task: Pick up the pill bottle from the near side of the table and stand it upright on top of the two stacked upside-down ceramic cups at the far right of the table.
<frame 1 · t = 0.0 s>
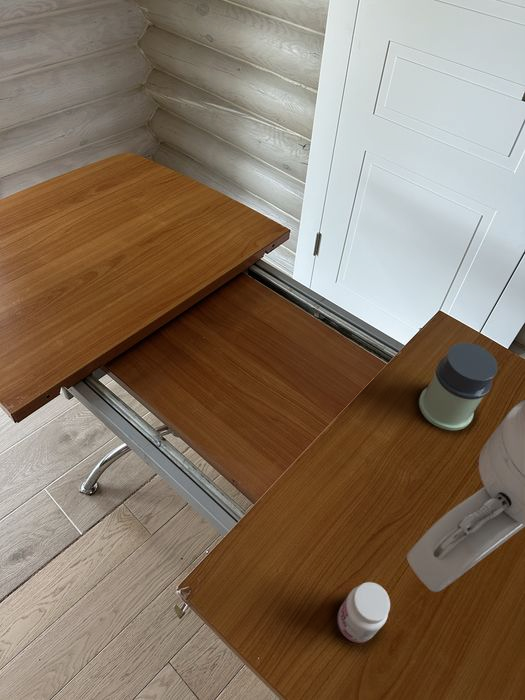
hand: (475, 540, 50), 20 cm above the table, tool pointing down, fingers open, 8 cm apart
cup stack: (445, 408, 85), on the table
pill bottle: (355, 622, 63), on the table
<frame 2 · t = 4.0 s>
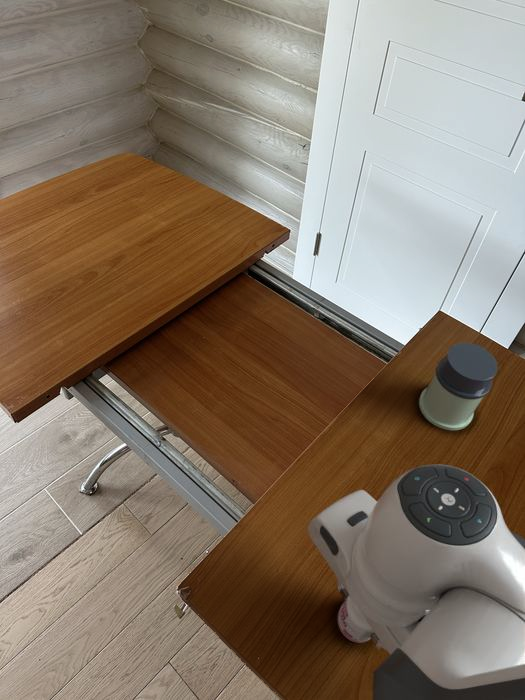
hand: (361, 614, 60), 3 cm above the table, tool pointing down, fingers closed on pill bottle, 5 cm apart
pill bottle: (356, 622, 63), on the table, touching gripper
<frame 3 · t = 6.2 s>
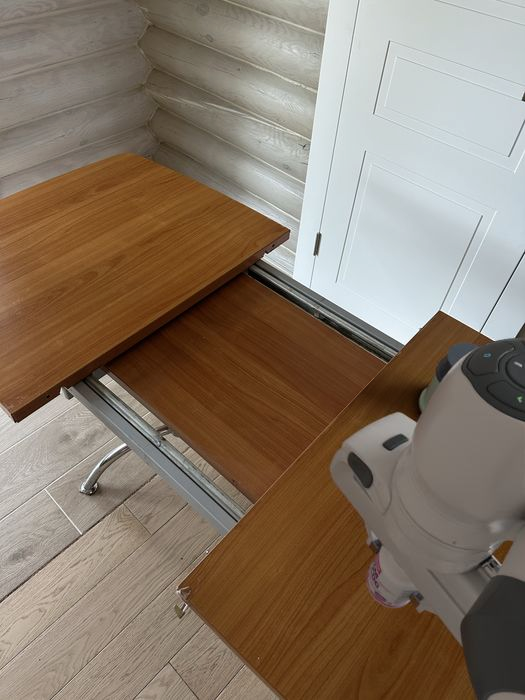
hand: (397, 572, 49), 18 cm above the table, tool pointing down, fingers closed on pill bottle, 5 cm apart
pill bottle: (388, 584, 52), point 14 cm above the table, touching gripper
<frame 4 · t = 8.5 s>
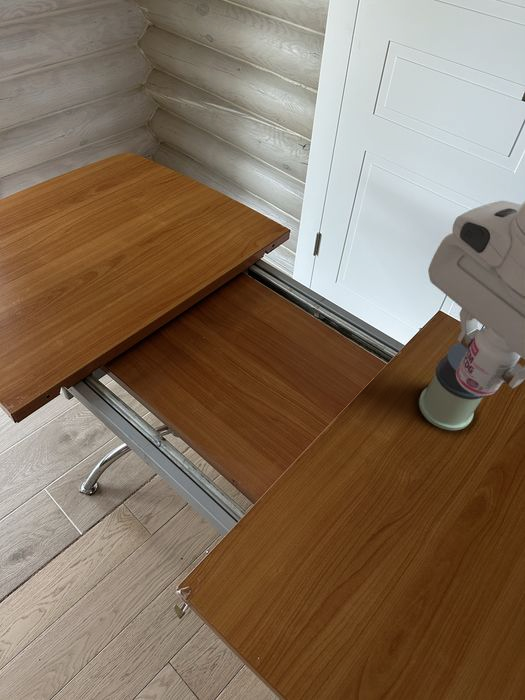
hand: (487, 361, 55), 28 cm above the table, tool pointing down, fingers closed on pill bottle, 5 cm apart
pill bottle: (475, 381, 57), point 24 cm above the table, touching gripper
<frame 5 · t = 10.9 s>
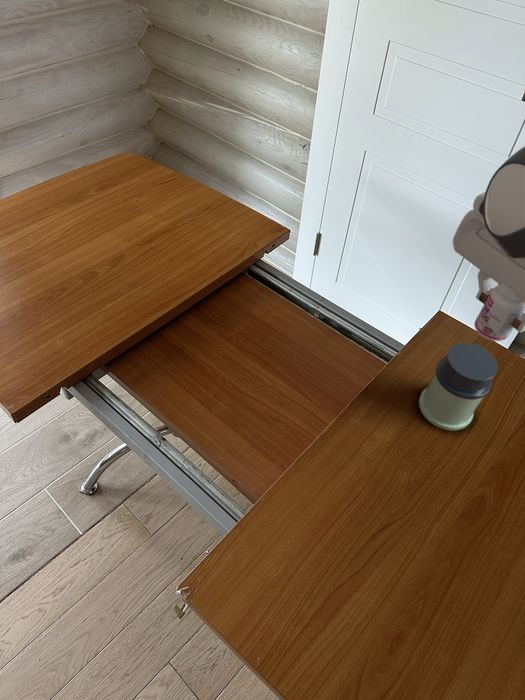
hand: (500, 313, 69), 22 cm above the table, tool pointing down, fingers closed on pill bottle, 5 cm apart
pill bottle: (490, 330, 72), point 19 cm above the table, touching gripper
when the fingers open (15 cm above the table, at t = 13.0 s): pill bottle stays where it is, resting on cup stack.
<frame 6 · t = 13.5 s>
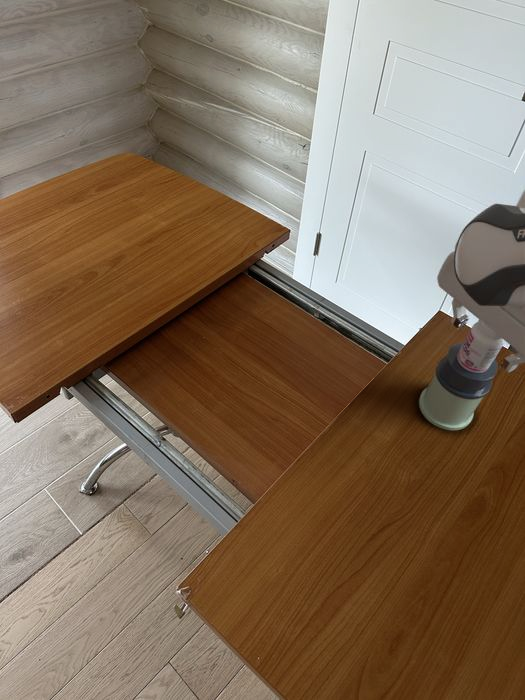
hand: (481, 345, 74), 15 cm above the table, tool pointing down, fingers open, 8 cm apart
pill bottle: (471, 362, 77), point 12 cm above the table, touching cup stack
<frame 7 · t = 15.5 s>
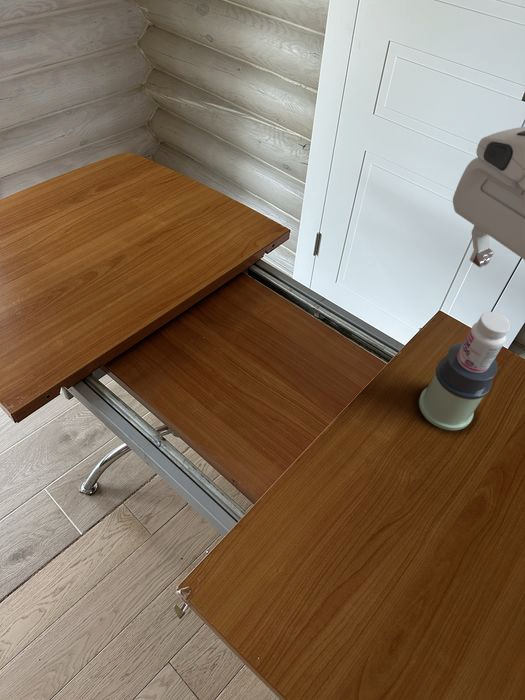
hand: (510, 286, 58), 32 cm above the table, tool pointing down, fingers open, 8 cm apart
nothing on the table moved.
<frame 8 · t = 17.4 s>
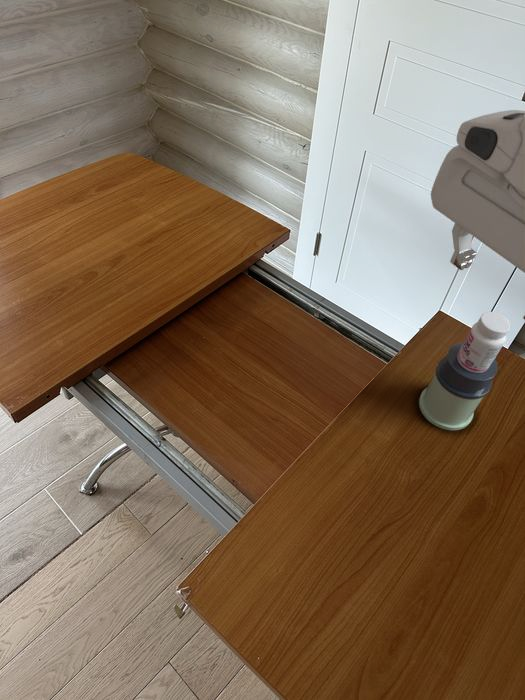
hand: (494, 292, 51), 35 cm above the table, tool pointing down, fingers open, 8 cm apart
nothing on the table moved.
at the end: pill bottle 0.1 cm off-centre on the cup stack, point 11.8 cm above the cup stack's base; pill bottle tilted 0°; the gripper is holding nothing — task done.
